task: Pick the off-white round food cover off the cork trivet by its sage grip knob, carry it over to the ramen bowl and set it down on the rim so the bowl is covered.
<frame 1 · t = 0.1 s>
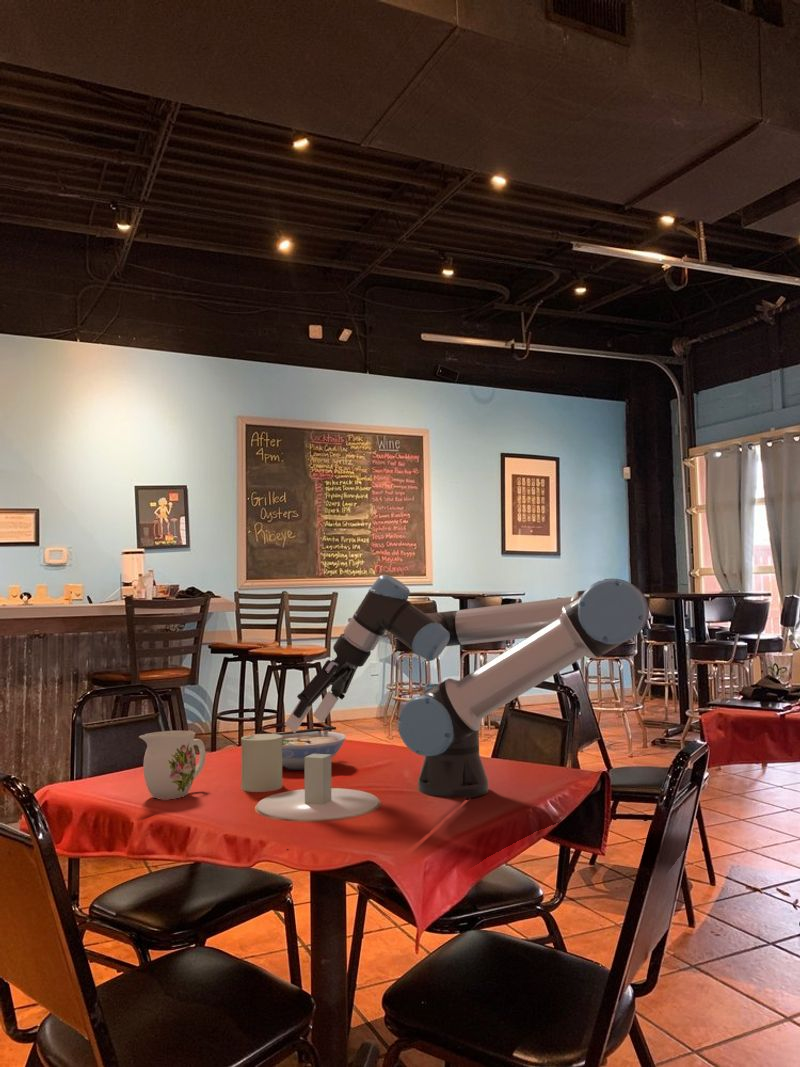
hand: (304, 723, 171), 15 cm above the table, tool tilted 35°, fingers open, 13 cm apart
ramen bowl: (301, 768, 202), on the table
pitcher: (173, 796, 173), on the table
trivet: (318, 807, 161), on the table
can: (261, 790, 177), on the table
lid: (318, 804, 161), point 1 cm above the table, touching trivet
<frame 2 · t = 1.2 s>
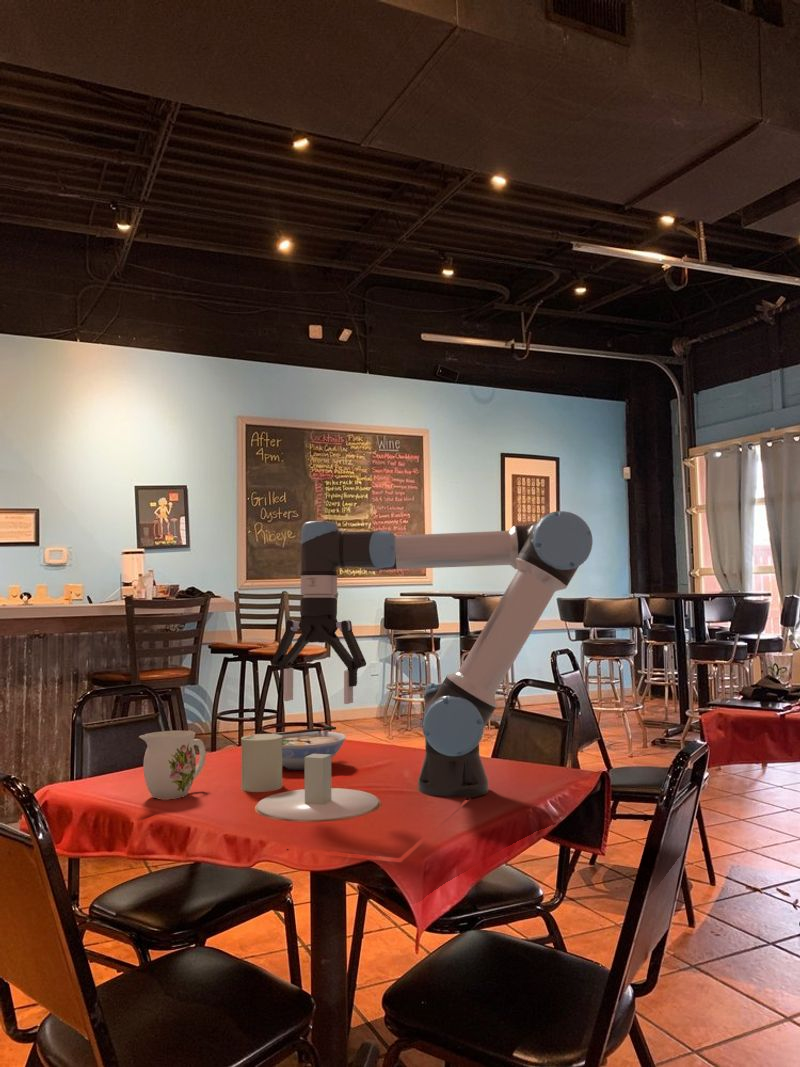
hand: (317, 702, 163), 21 cm above the table, tool pointing down, fingers open, 13 cm apart
nothing on the table moved.
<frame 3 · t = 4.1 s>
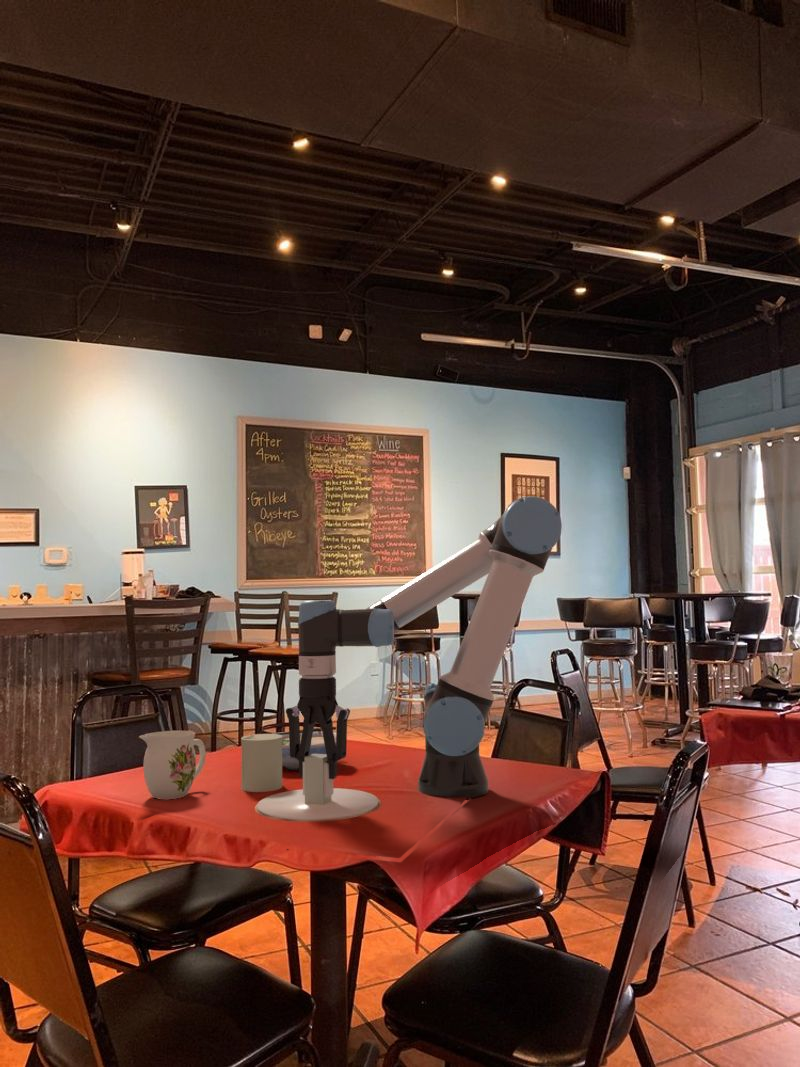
hand: (318, 794, 161), 3 cm above the table, tool pointing down, fingers closed on lid, 4 cm apart
lid: (318, 804, 161), point 1 cm above the table, touching gripper, trivet
everything else where it was.
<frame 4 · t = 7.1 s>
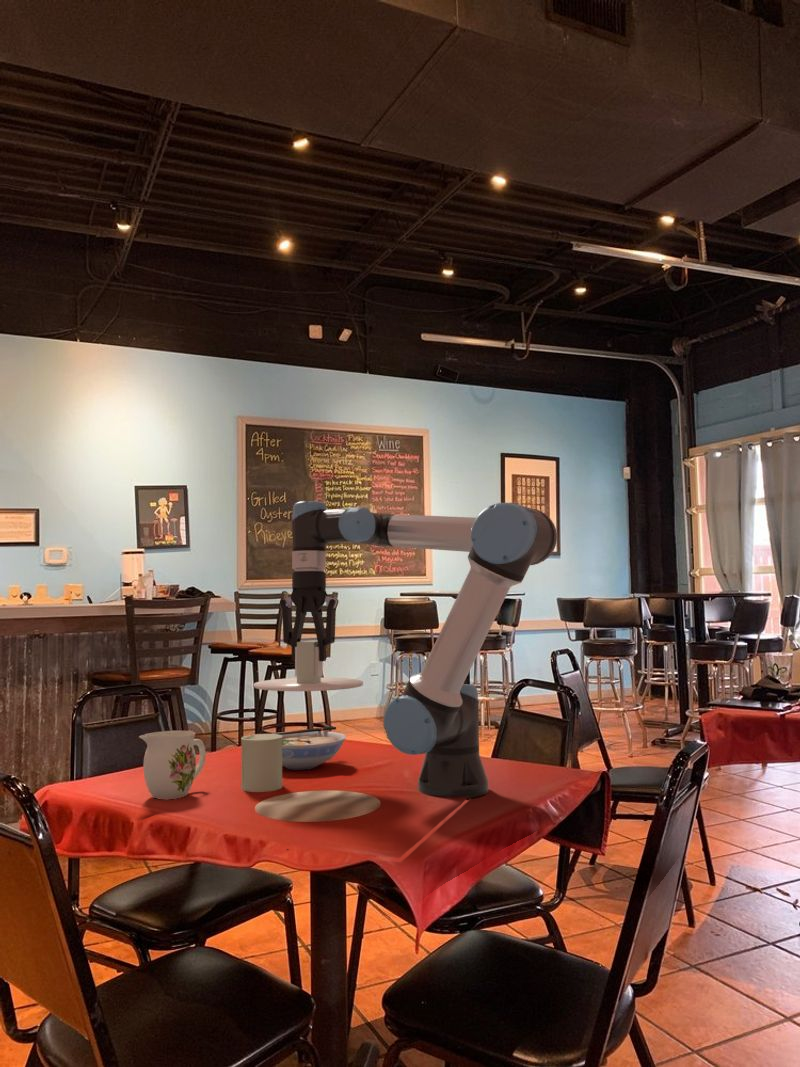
hand: (308, 675, 178), 25 cm above the table, tool pointing down, fingers closed on lid, 4 cm apart
lid: (308, 685, 178), point 23 cm above the table, touching gripper
everything else where it was.
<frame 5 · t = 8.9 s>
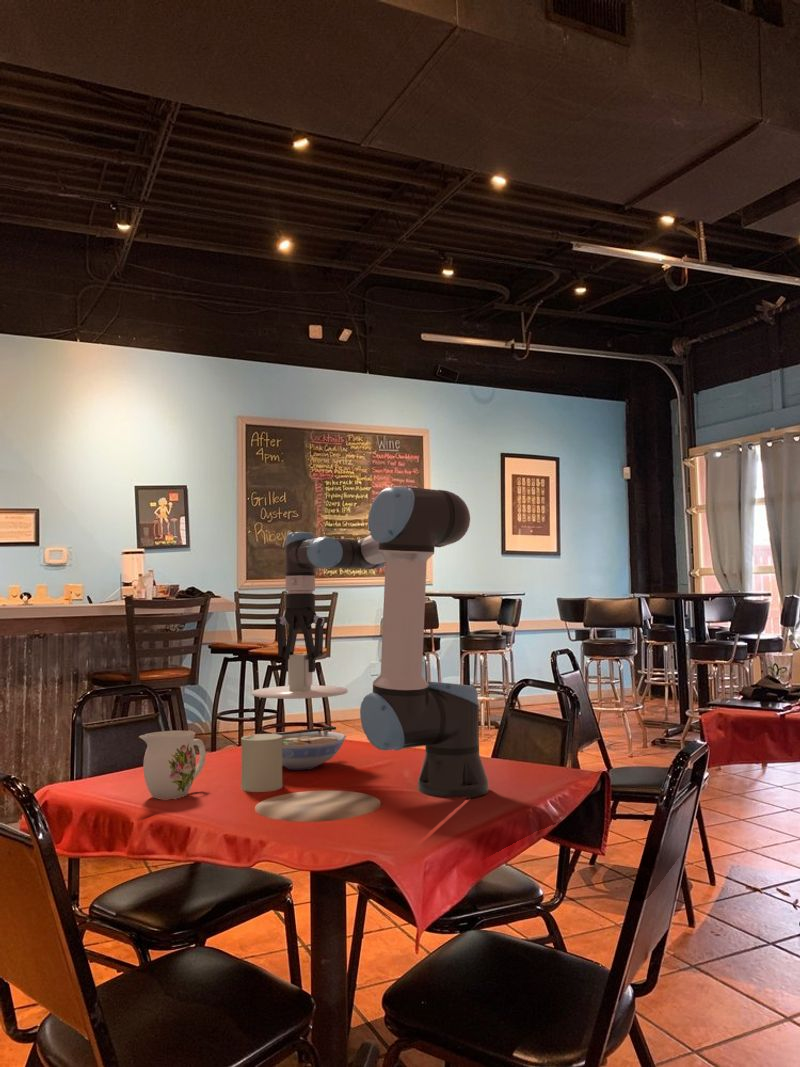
hand: (300, 684, 204), 20 cm above the table, tool pointing down, fingers closed on lid, 4 cm apart
lid: (300, 692, 204), point 18 cm above the table, touching gripper
everything else where it was.
when the fingers open (12 cm above the table, at t = 10.5 s): lid drops 2 cm, resting on ramen bowl.
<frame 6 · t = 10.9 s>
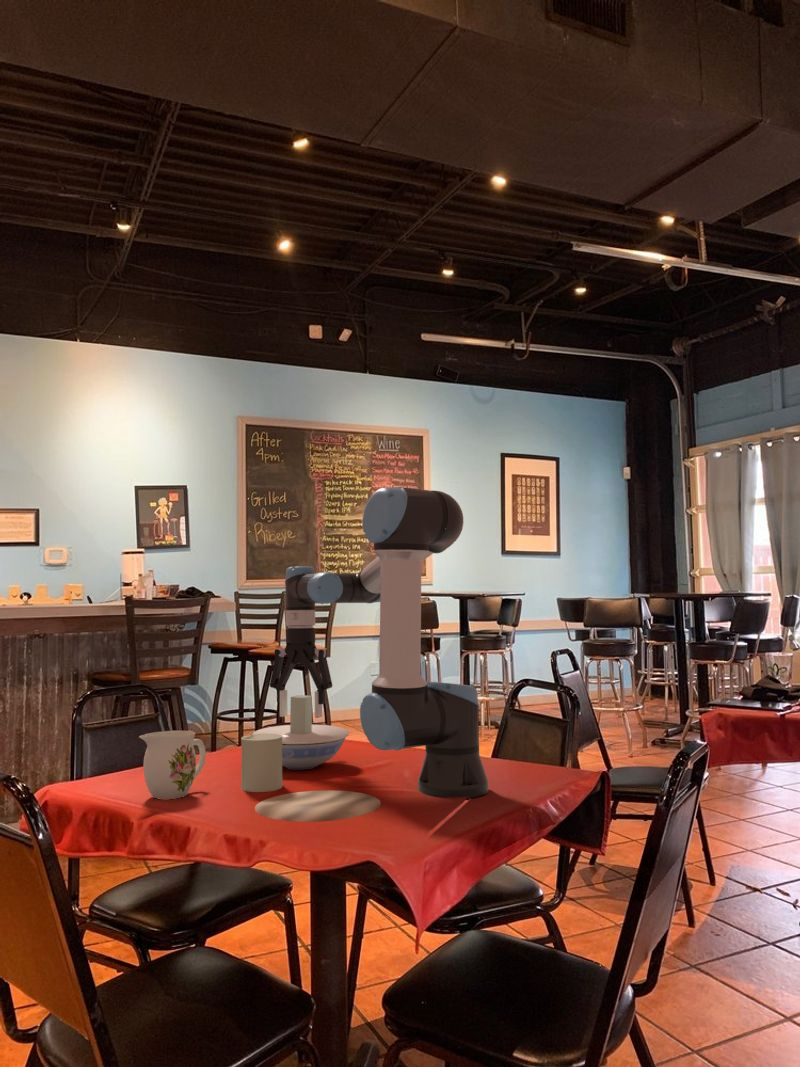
hand: (300, 716, 203), 13 cm above the table, tool pointing down, fingers open, 9 cm apart
ramen bowl: (301, 768, 202), on the table, touching lid
lid: (301, 734, 202), point 8 cm above the table, touching ramen bowl
everything else where it was.
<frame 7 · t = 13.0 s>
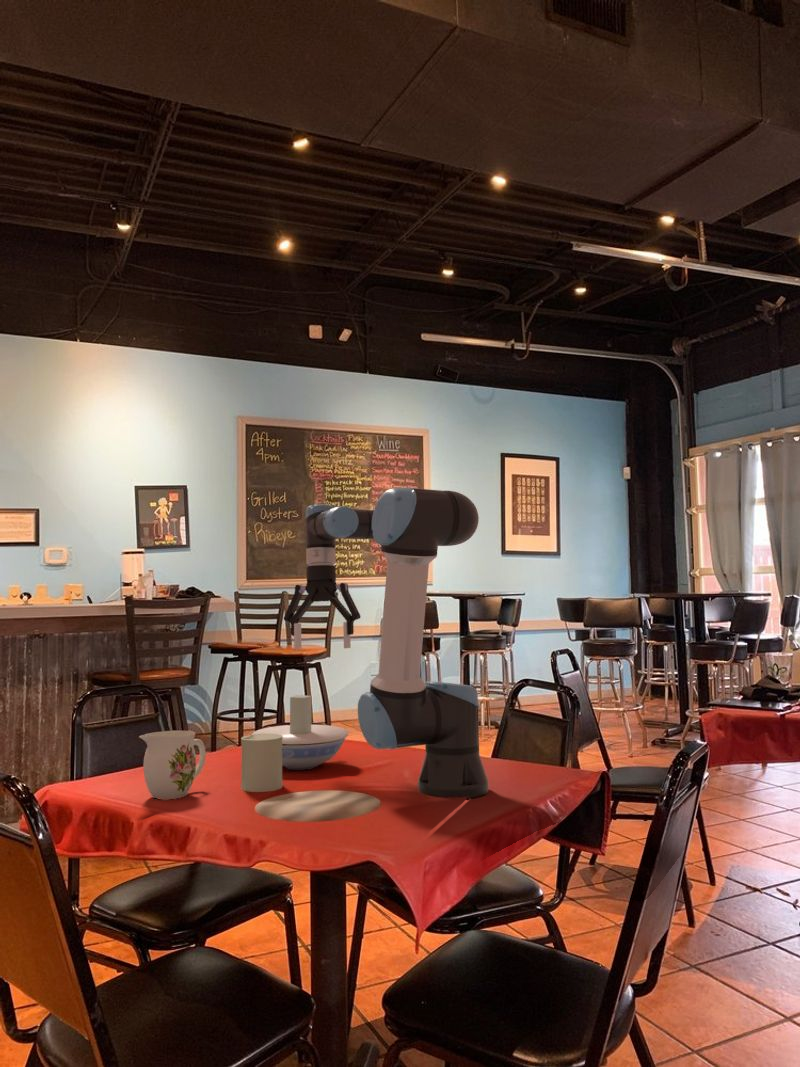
hand: (322, 648, 204), 29 cm above the table, tool pointing down, fingers open, 13 cm apart
nothing on the table moved.
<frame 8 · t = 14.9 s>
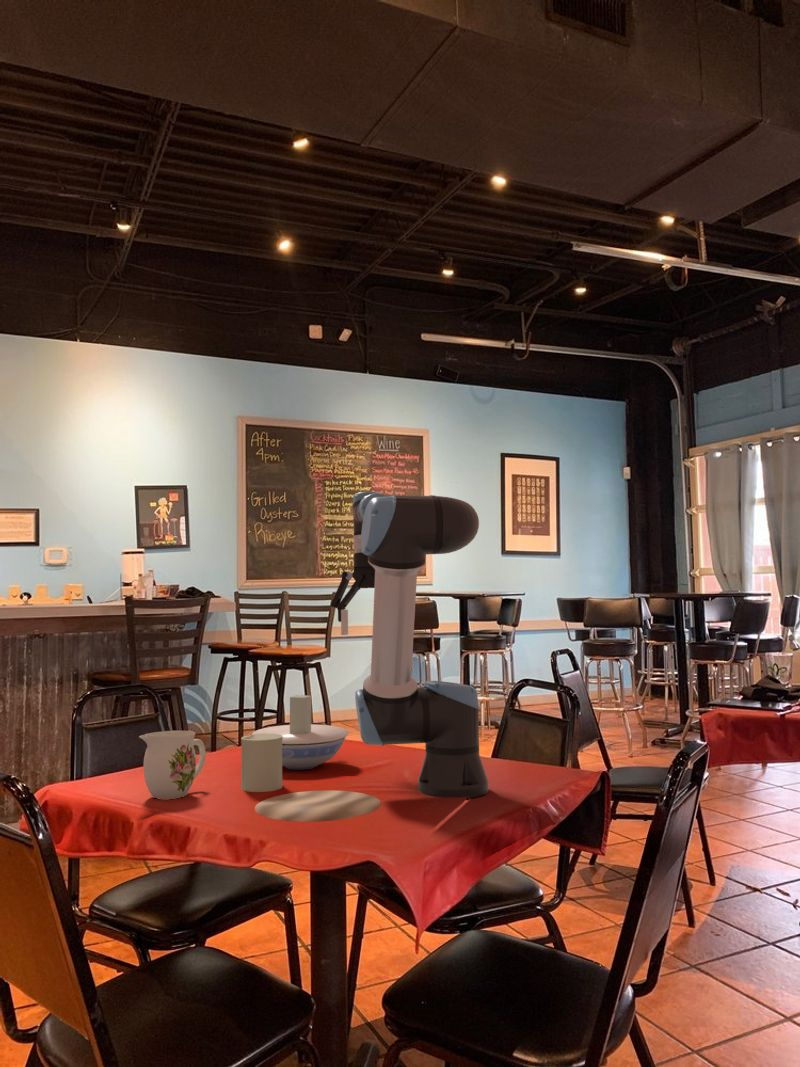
hand: (369, 634, 206), 33 cm above the table, tool pointing down, fingers open, 13 cm apart
nothing on the table moved.
at the end: lid 0.2 cm from the ramen bowl (horizontally); lid point 8.0 cm above the table; lid tilted 2° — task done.
